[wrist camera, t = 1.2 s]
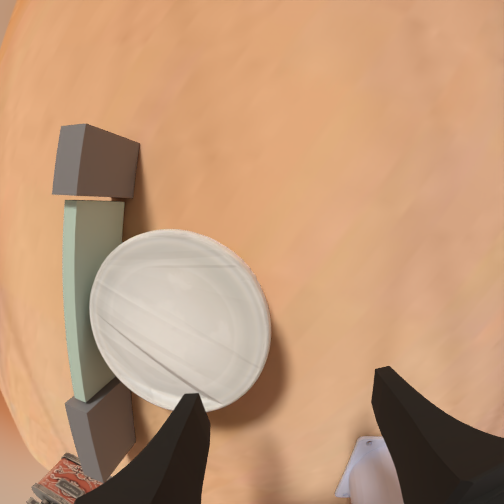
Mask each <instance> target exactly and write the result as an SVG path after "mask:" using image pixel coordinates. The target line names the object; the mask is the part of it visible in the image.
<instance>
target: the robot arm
mask: <svg viewBox="0 0 504 504" xmlns="http://www.w3.org/2000/svg"><path fill="white" fill-rule="evenodd" d="M371 403H372V406H373V410H374V414H375V418H376V421H377V424H378V426H379V429H380V431H381V434H382V436H383V437H378V436H362V437H360V438H359V439H358V440H357V442H356V444H355V447H354V449H353V452H352V454H351V457H350V459H349V462H348V464H347V466H346V469H345V471H344V473H343V475H342V478H341V480H340V482H339V484H338V486H337V489H336V491H335V496H336V497H350V498H351V504H504V438H501V437H497V436H494V435H491V434H488V433H485V432H483V431H480V430H478V429H475V428H473V427H471V426H469V425H467V424H464V423H462V422H460V421H459V420H457V419H455V418H453V417H452V416H450V415H448V414H447V413H445V412H444V411H442V410H441V409H439V408H438V407H436V406H435V405H434V404H432V403H431V402H430V401H428V400H427V399H426V398H425V397H423V396H422V395H421V394H420V393H419V392H417V391H416V390H415V389H414V388H413V387H412V386H410V385H409V384H408V383H407V382H406V381H405V380H404V379H403V378H402V377H401V376H399V375H398V374H397V373H396V372H395V371H394V370H393V369H392V368H391V367H390V366H386V367H382V368H378V369H375V375H374V385H373V393H372V401H371ZM368 441H371V442H369V443H367V442H368ZM209 445H210V421H209V419H208V416H207V414H206V411H205V408H204V406H203V403H202V400H201V398H200V395H199V393H187V394H184V395H183V396H182V398H181V399H180V401H179V402H178V404H177V405H176V407H175V409H174V410H173V412H172V413H171V414H170V416H169V417H168V419H167V420H166V422H165V423H164V424H163V426H162V427H161V429H160V430H159V431H158V433H157V434H156V435H155V436H154V437H153V439H152V440H151V441H150V442H149V444H148V445H147V446H146V447H145V448H144V449H143V450H142V451H141V452H140V453H139V455H138V456H137V457H135V458H134V459H133V460H132V461H131V462H130V463H129V464H128V465H127V466H126V467H125V468H123V469H122V470H121V471H120V472H119V473H117V474H116V475H115V476H113V477H112V478H110V479H109V480H108V481H106V482H105V483H103V484H102V485H100V486H98V487H97V488H95V489H93V490H91V491H90V492H88V493H86V494H84V495H82V496H80V497H78V498H76V500H75V502H74V504H201V494H202V486H203V480H204V474H205V469H206V463H207V457H208V452H209Z"/></svg>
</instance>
